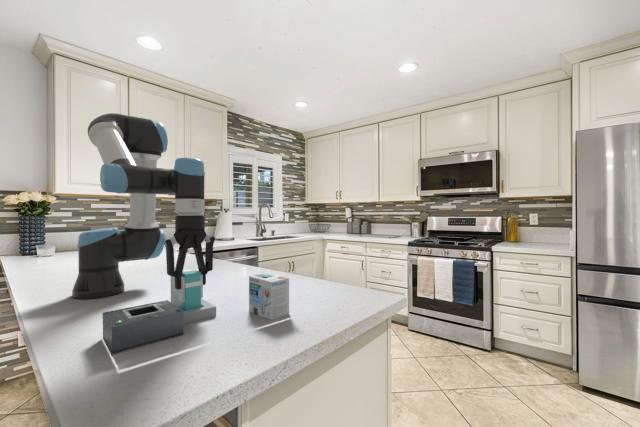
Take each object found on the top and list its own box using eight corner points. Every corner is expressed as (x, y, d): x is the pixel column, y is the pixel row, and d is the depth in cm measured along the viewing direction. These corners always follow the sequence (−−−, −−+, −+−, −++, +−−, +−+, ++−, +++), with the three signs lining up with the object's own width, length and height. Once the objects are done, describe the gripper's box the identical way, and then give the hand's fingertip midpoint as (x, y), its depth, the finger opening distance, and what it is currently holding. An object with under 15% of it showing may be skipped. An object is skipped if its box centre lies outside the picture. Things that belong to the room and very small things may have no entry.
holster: (166, 316, 84) (166, 306, 83) (201, 308, 90) (201, 298, 90) (178, 327, 76) (178, 315, 76) (216, 317, 83) (216, 306, 83)
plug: (180, 315, 83) (180, 272, 83) (195, 311, 86) (195, 270, 86) (186, 319, 80) (185, 274, 80) (201, 315, 83) (201, 272, 83)
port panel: (102, 338, 70) (102, 310, 70) (167, 322, 79) (167, 298, 79) (112, 356, 61) (111, 325, 61) (183, 336, 70) (183, 309, 70)
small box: (186, 309, 90) (186, 274, 90) (170, 308, 91) (169, 274, 91) (202, 301, 97) (202, 269, 97) (186, 300, 99) (186, 269, 98)
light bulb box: (248, 313, 87) (247, 275, 86) (267, 307, 92) (266, 272, 91) (271, 322, 79) (270, 281, 79) (290, 315, 84) (290, 277, 84)
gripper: (160, 215, 74) (161, 309, 75) (225, 214, 86) (226, 295, 86) (151, 215, 80) (152, 302, 80) (214, 214, 92) (215, 290, 92)
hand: (190, 298), depth 83 cm, fingers open, 4 cm apart
